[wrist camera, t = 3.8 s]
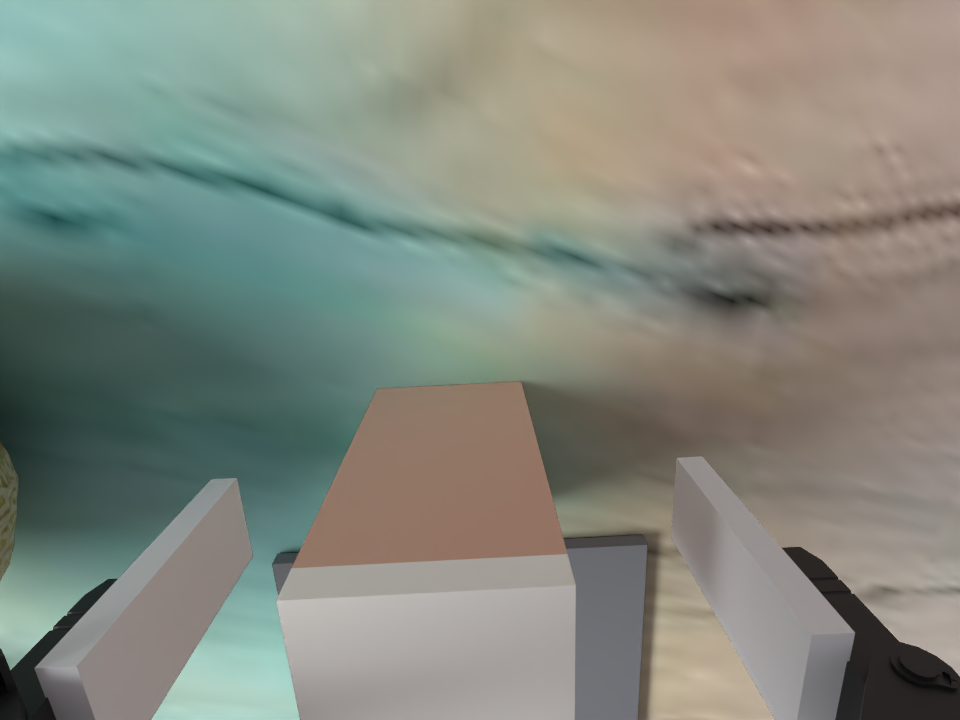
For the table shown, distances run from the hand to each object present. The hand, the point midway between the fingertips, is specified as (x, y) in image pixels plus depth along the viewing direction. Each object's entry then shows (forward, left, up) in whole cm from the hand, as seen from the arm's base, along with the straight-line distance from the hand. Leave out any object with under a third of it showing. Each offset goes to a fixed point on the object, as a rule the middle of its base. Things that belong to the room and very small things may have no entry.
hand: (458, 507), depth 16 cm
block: (0, 0, -3) cm, 3 cm away
